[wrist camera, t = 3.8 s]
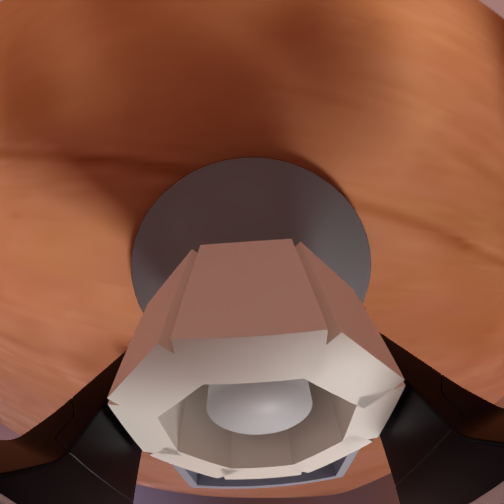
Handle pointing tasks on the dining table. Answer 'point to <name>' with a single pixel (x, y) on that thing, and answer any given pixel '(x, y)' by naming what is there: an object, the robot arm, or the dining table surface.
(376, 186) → the dining table surface
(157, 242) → the stake
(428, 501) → the robot arm
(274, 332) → the ring
